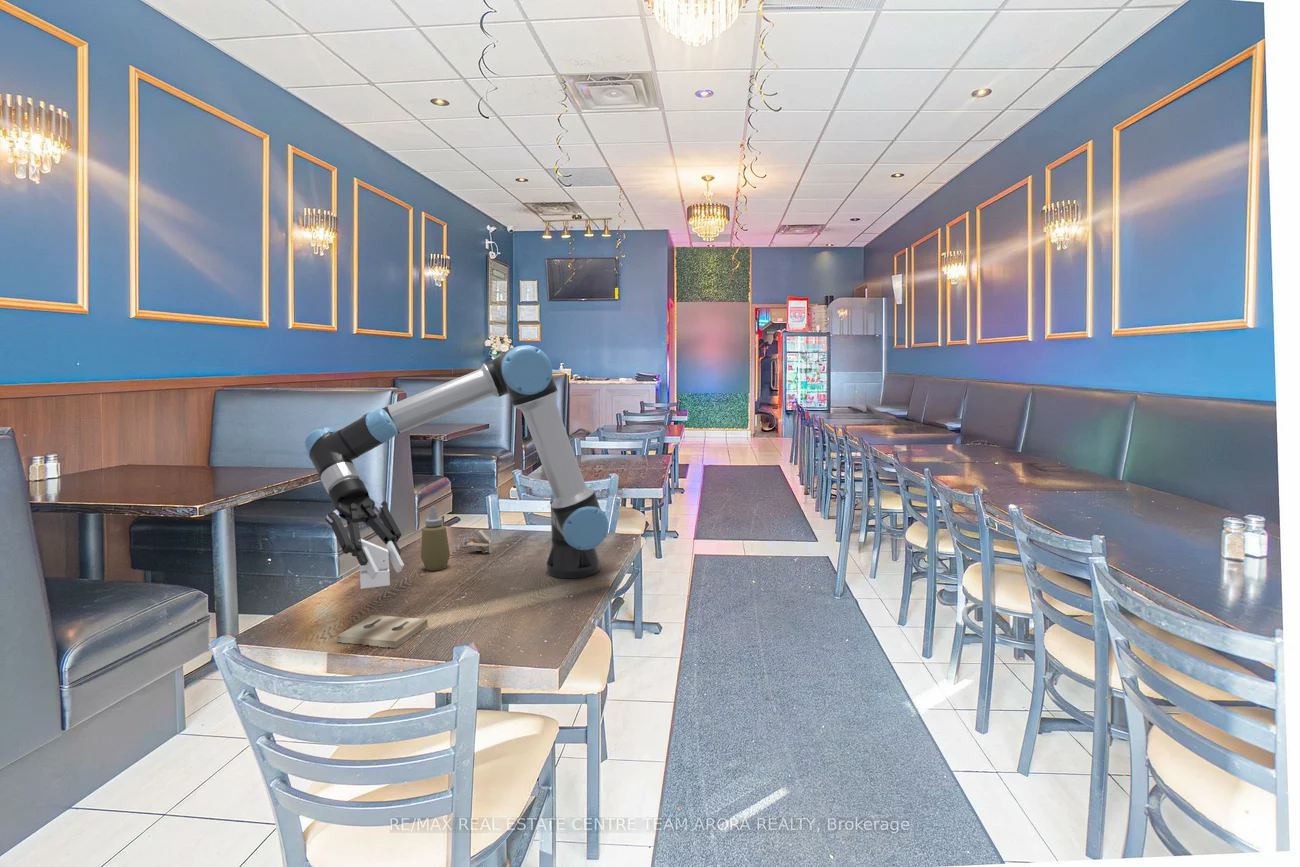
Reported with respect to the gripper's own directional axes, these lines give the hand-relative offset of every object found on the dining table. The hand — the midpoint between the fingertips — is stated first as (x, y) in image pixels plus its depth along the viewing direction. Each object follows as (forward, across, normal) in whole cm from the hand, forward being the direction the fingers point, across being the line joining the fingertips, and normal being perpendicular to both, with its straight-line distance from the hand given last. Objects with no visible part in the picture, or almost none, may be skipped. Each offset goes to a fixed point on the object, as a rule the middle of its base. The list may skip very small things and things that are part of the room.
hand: (387, 572), depth 139 cm
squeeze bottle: (-15, -34, -36) cm, 52 cm away
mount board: (+8, 0, -13) cm, 15 cm away
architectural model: (-16, -52, -38) cm, 67 cm away
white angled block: (0, +1, -5) cm, 5 cm away
